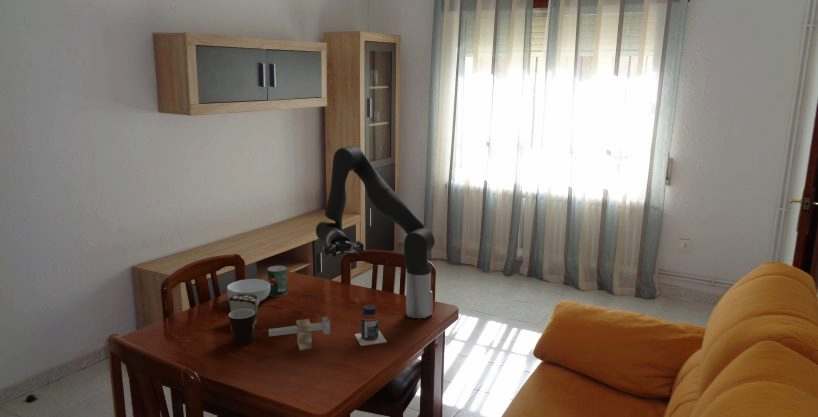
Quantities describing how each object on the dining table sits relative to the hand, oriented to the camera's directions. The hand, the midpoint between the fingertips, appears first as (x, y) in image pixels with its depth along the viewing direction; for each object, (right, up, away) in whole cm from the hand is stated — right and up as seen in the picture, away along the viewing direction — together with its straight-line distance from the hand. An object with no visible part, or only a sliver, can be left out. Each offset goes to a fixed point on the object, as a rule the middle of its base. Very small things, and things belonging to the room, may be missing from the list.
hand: (347, 253), depth 209 cm
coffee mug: (-35, -30, -4) cm, 46 cm away
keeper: (-14, -31, -9) cm, 35 cm away
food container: (-38, -26, +12) cm, 48 cm away
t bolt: (-15, -26, -10) cm, 32 cm away
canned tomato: (-33, -20, +40) cm, 56 cm away
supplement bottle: (+8, -29, -3) cm, 30 cm away
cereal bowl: (-43, -22, +31) cm, 57 cm away
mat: (+8, -29, -3) cm, 31 cm away
